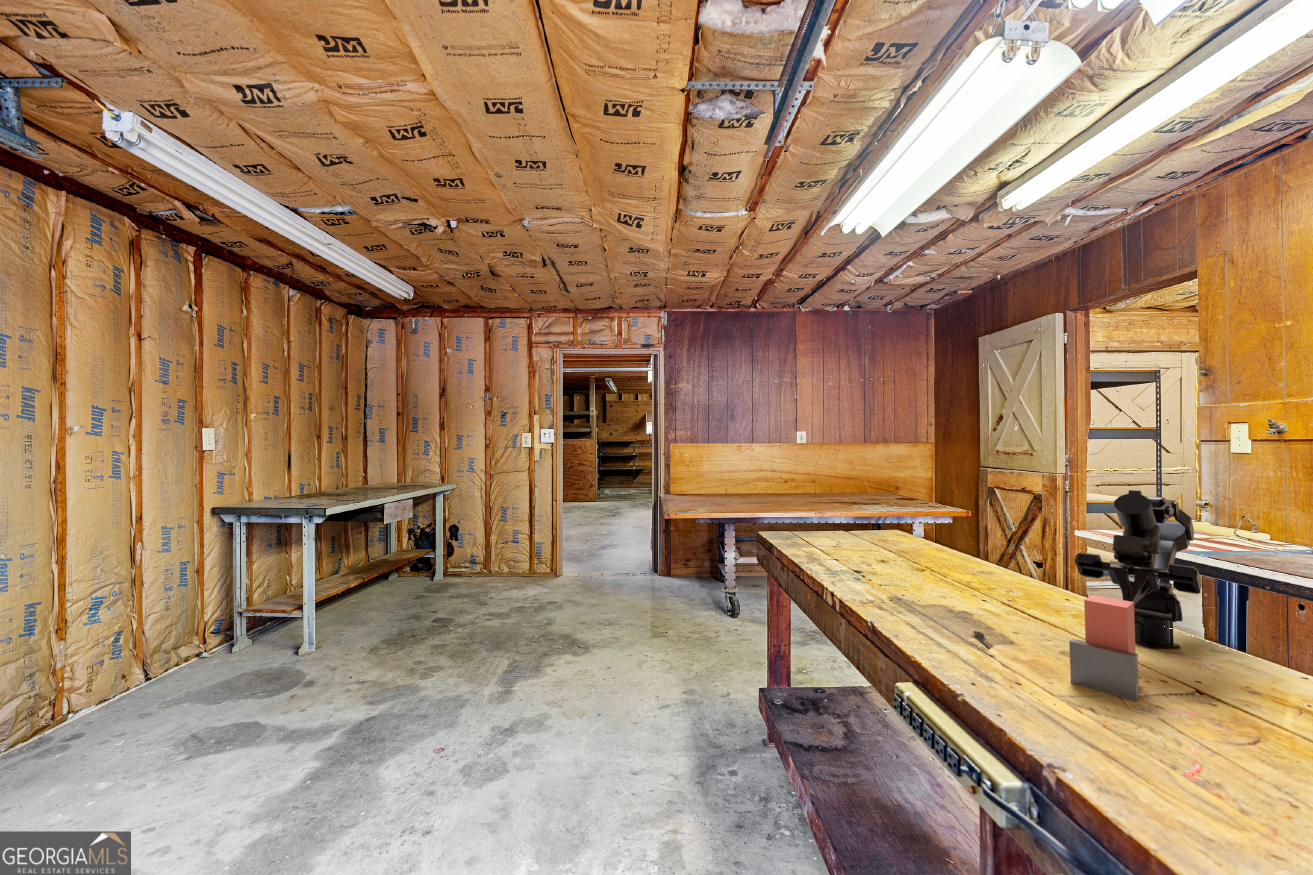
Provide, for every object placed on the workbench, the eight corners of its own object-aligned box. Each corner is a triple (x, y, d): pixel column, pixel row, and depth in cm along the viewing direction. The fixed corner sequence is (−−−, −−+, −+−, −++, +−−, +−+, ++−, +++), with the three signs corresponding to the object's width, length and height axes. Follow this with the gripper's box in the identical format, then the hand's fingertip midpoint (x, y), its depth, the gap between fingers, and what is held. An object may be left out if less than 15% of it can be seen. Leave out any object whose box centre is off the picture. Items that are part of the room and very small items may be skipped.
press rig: (1090, 667, 103) (1089, 622, 103) (1158, 685, 95) (1157, 637, 95) (1067, 688, 95) (1065, 640, 95) (1140, 710, 87) (1138, 658, 87)
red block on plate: (1094, 672, 98) (1092, 594, 98) (1136, 683, 93) (1133, 601, 94) (1086, 679, 95) (1084, 599, 96) (1129, 692, 91) (1126, 607, 91)
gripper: (1075, 515, 113) (1060, 573, 107) (1196, 525, 98) (1188, 593, 92) (1087, 546, 118) (1073, 603, 111) (1204, 560, 103) (1197, 627, 96)
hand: (1127, 606), depth 103 cm, fingers closed
